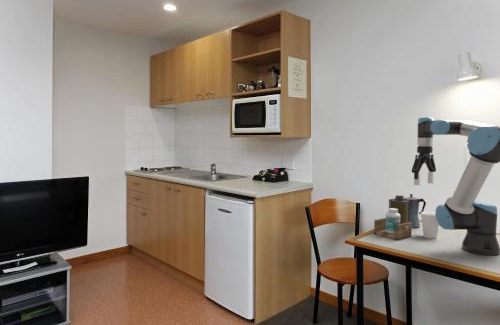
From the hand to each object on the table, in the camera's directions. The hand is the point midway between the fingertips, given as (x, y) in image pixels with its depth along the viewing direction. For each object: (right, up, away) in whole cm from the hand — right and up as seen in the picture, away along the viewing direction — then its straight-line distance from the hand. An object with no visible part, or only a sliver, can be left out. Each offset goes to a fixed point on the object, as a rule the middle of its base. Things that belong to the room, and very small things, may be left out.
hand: (423, 184), depth 187 cm
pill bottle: (-17, -27, +1) cm, 32 cm away
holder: (-17, -29, +2) cm, 33 cm away
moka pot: (+4, -28, +21) cm, 35 cm away
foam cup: (+3, -29, -1) cm, 29 cm away
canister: (-7, -28, +16) cm, 33 cm away
